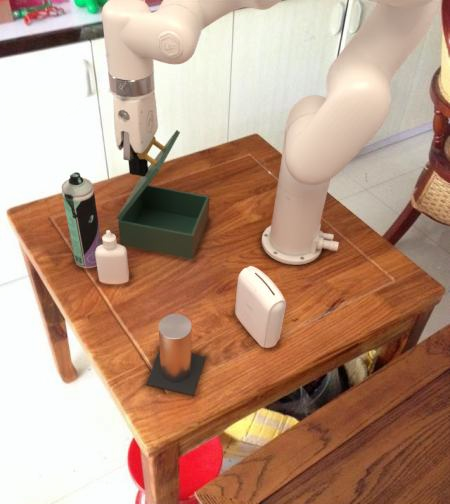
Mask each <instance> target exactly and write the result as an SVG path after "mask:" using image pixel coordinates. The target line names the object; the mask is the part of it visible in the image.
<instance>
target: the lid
mask: <svg viewBox="0 0 450 504" xmlns="http://www.w3.org/2000/svg"><path fill="white" fill-rule="evenodd" d="M180 134H181V132H180V131H179V130H178V129H176V130H175V131H174V132H173V134H172V135H171V137H170V138H169V139H168V140H167V142H166V143H165V144H164V145H163V144H162V143H160V142H159V141H158V140H156V135H154V137H153V139H152V140H151V142H150V144H149V145H148V147H147V148H146V150H145V151H144V152H143V153H141V154H139V153H137V156H138V157H139V158H140V159H145V160H147V161H148V163H149V165H148V172H147V173H146V176H145V177H143V176H140V177H139V178H138V180H137V182H136V183H135V185H134V186H133V189H132V190H131V193H130V194H129V196H128V198H127V199H126V201H125V202H124V204H123V206H122V208H121V209H120V212H119V213H118V215H117V217H116V219H117V220H118V221H119V220H121V219H122V217H123V216H124V215H125V214H126V212H127V211H128V210H129V208H130V207H131V206H132V205H133V203H134V202H135V201H136V200H137V198H138V197H139V196H140V194H141V193H142V192H143V191H144V189H145V188H146V187H147V186H148V185H150V183H151V182H152V181H153V179H154V178H155V177H156V176H157V174H158V173H159V172H160V170H161V168H162V167H163V165H164V163H165V161H166V159H167V157H168V155H169V154H170V152H171V150H172V148H173V146H174V145H175V143H176V140H177V139H178V137H179V135H180ZM153 146H154V147H156V148H157V149H159V150H160V151H159V152H158V154H157V155H156V156H155V158H153V157H152V156H150V155H149V152H150V151H151V149H152V147H153Z"/></svg>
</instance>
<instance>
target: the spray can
mask: <svg viewBox="0 0 450 504" xmlns="http://www.w3.org/2000/svg"><path fill="white" fill-rule="evenodd" d="M61 196H62V201H63V207H64V209H65V210H64V211H65V215H66V221H67V227H68V231H69V236H70V242H71V247H72V253H73V258H74V263H75V264H76V265H77V266H78V267H81V268H84V269H92V268H97V263H96V256H95V252H96V248H97V247H98V246H99V245H102V244H103V243H102V237H101V230H100V224H99V217H98V210H97V203H96V202H97V201H96V195H95V189H94V185H93V183H92V181H91V180H89V179H88V178H85V177H82V176H81V174H80V172H78V171H77V172H76V171H75V172H73V173H72V174H70V175H69V179H66V180H64V182H63V183H62V185H61Z"/></svg>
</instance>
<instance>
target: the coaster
mask: <svg viewBox="0 0 450 504" xmlns="http://www.w3.org/2000/svg"><path fill="white" fill-rule="evenodd" d="M206 358H207V357H206V356H205V355H200V354H196V353H191V373H190V375H189V377H188V378H187V379H185V380H184V381H182V382H176V383H175V382H170V381H167V380H166V379H165V378H164V377H163V376H162V374H161V365H160V349H159V350H158V353H157V356H156V358H155V361H154V363H153V366H152V368H151V371H150V373H149V376H148V377H147V381H146V382H145V383H146V384H145V386H149V387H153V388H157V389H161V390H166V391H169V392H174V393H179V394H182V395H187V396H191V397H194V396H195V393H196V390H197V387H198V383H199V379H200V376H201V373H202V371H203V368H204V365H205V361H206Z"/></svg>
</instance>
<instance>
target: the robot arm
mask: <svg viewBox="0 0 450 504" xmlns="http://www.w3.org/2000/svg"><path fill="white" fill-rule="evenodd" d="M282 1H283V0H162V1H161V3H160V5H159V6H158V7H157V8H158V9H157V10H155V11H151V9H150V6H149V5H148V4H147V3H146V2H145V1H143V0H108V1H106V2H105V3H104V4H103V6H102V10H101V19H102V29H103V37H104V47H105V55H106V63H107V75H108V76H107V77H108V83H109V84H108V85H109V91H110V94H112V96H113V127H114V137H115V139H114V140H115V144H116V148H117V150H119V151H121V150H123V151H122V152H123V153H122V154H123V160H124V161H128V170H129V171H128V172H129V174H130V175H133V176H139V177H141V176H143V177H145V176H146V173H147V172H148V167H149V164H148V163H149V162H148V161H147V160H145V159H140V158H139V157H138V156H137V153H139V154H141V153H143V152H144V151H145V150H146V148H147V147H148V145H149V144H150V142H151V140H152V139H153V137H154V136H156V134H157V131H158V128H159V123H158V122H159V121H158V110H157V101H156V100H157V99H156V93H155V90H156V88H155V87H156V86H155V68H154V67H155V66H154V65H155V64H154V61H157V62H160V63H164V64H168V65H181V64H185V63H186V62H188V61H189V60H190V59H191V58H192V57H193V55H194V54H195V52H196V50H197V46H198V44H199V40H200V37H201V34H202V31H203V30H204V29H206V28H207V27H209V26H210V25H212V24H213V23H214V22H216V21H218V20H220V19H221V18H223V17H225V16H227V15H228V14H230V13H233V12H234V11H237V10H239V9H244V8H251V9H254V10H259V11H260V10H261V11H265V10H268V9H271V8H272V7H274V6H275V5H277V4H279V3H280V2H282ZM369 1H370V2H375V3H376V4H375V5H374V7H373V9H372V10H371V12H370V13H369V15H368V17H367V18H366V19H365V21H364V22H363V24H362V25H361V26H360V28H358V30H357V31H356V33H355V34H354V35H353V36H352V38H351V39H350V40H349V42H348V43H347V44H346V46H345V47H344V48H343V49H342V50H341V51H340V53H339V55H337V57H336V58H335V59H334V60H333V61H332V63H331V65H330V66H329V68H328V70H327V73H326V77H325V96H323V95H317V94H313V95H307V96H305V97H302V98H301V99H299V100H298V101H297V102H295V103H294V104H293V106H292V108H291V109H290V111H289V112H288V114H287V117H286V121H285V126H284V132H283V133H284V135H283V143H282V152H281V159H280V166H279V173H278V178H277V185H276V193H275V199H274V205H273V210H272V211H273V212H272V218H271V224H270V225H269V226H268V227H266V228H265V229H264V231H263V232H262V236H261V246H262V249H263V251H264V252H265V253H266V254H267V255H268V256H269V257H270V258H272V259H273V260H275V261H277V262H280V263H282V264H286V265H292V266H294V265H295V266H297V265H299V266H300V265H305V264H308V263H311V262H313V261H315V260H316V259H317V258H318V257H319V256H320V255H321V253H322V250H323V249H325V250H328V251H332V252H338V249H339V244H340V242H339V241H336V240H334V237H335V234H333V233H326V232H323V230H321V227H322V224H321V221H322V217H323V212H324V208H325V205H326V200H327V197H328V191H329V187H330V184H331V180H332V179H333V178H335V177H336V176H337V175H338V174H339V173H340V172H341V171H342V170H343V169H344V168H345V167H346V166H347V165H349V164H350V163H351V161H352V160H353V159H354V158H355V157H356V156H357V155H358V154H359V152H361V150H362V149H364V147H365V146H367V144H368V143H369V142H370V141H371V139H372V138H373V137H374V136H375V135H376V134H377V133H378V132H379V130H380V129H381V128H382V127H383V125H384V123H385V122H386V120H387V118H388V115H389V113H390V110H391V105H392V93H391V86H390V83H391V80H392V78H393V77H394V76H395V74H396V73H397V71H399V69H400V68H401V66H402V65H403V64H404V63H405V62H406V61H407V59H408V58H409V56H410V55H411V54H412V53H413V52H414V51H415V49H416V48H417V47H418V46H419V44H420V43H421V41H422V40H423V39H424V37H425V36H426V34H427V32H428V31H429V29H430V27H431V25H432V23H433V21H434V19H435V17H436V15H437V12H438V9H439V6H440V3H441V0H369Z"/></svg>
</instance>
